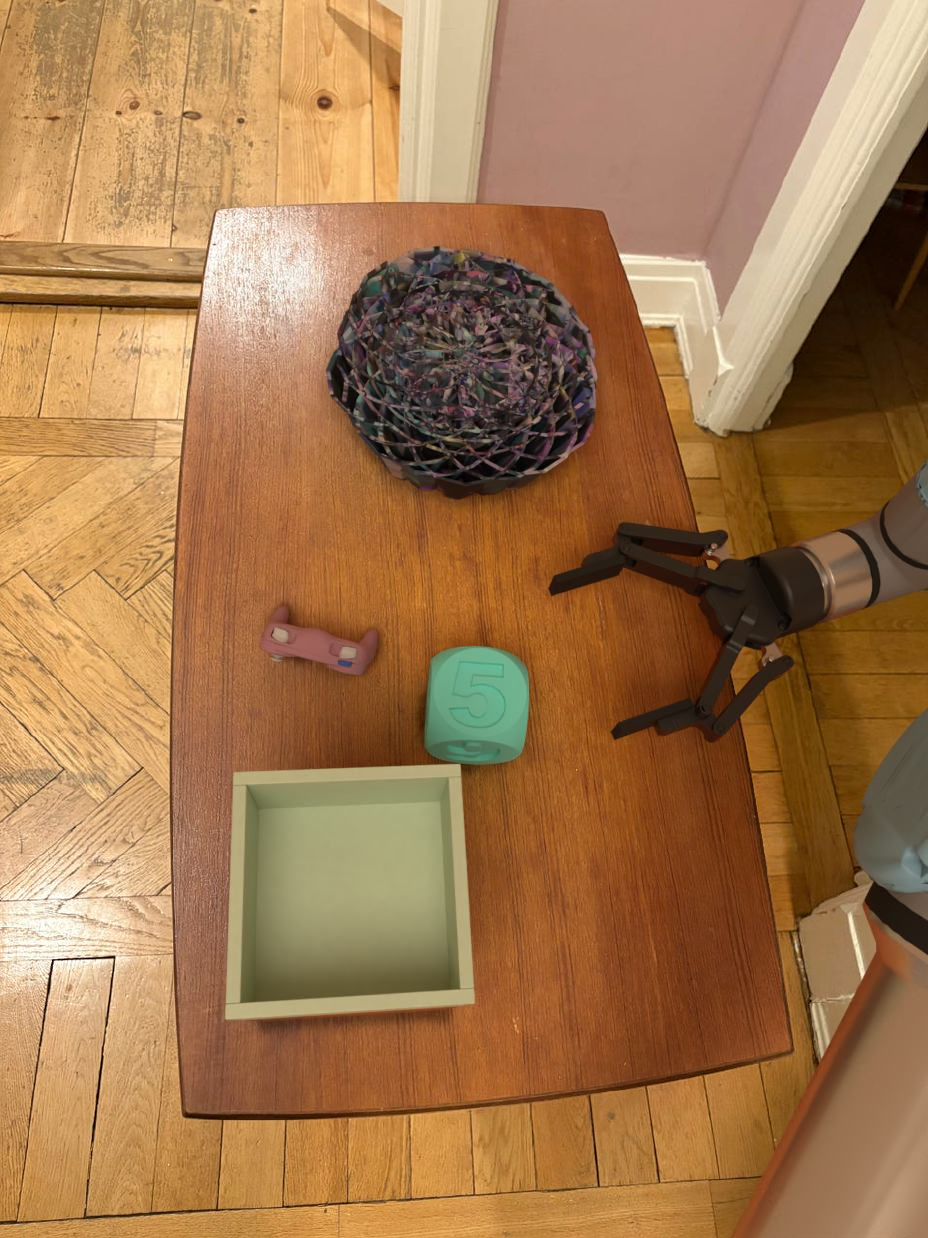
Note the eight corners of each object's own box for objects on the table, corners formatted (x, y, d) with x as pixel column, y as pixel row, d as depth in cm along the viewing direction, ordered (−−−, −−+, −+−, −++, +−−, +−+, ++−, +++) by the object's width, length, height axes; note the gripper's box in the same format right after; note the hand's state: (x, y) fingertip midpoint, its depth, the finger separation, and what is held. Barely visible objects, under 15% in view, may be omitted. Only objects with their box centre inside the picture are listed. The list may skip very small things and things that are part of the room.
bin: (462, 1006, 60) (475, 1003, 52) (242, 1020, 58) (224, 1020, 51) (450, 792, 65) (460, 763, 58) (248, 800, 63) (233, 771, 56)
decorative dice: (516, 681, 86) (530, 648, 78) (514, 767, 82) (528, 742, 75) (427, 674, 85) (433, 641, 78) (422, 761, 82) (428, 735, 75)
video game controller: (266, 651, 86) (247, 658, 79) (278, 602, 86) (260, 605, 79) (371, 679, 86) (361, 688, 79) (384, 630, 86) (375, 635, 79)
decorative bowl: (324, 526, 92) (319, 480, 83) (334, 289, 101) (331, 222, 91) (584, 534, 94) (608, 490, 85) (571, 302, 103) (592, 238, 94)
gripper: (850, 726, 83) (632, 807, 78) (724, 489, 91) (521, 549, 86) (894, 700, 76) (658, 786, 71) (753, 446, 84) (534, 508, 80)
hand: (582, 656), depth 79 cm, fingers open, 13 cm apart
